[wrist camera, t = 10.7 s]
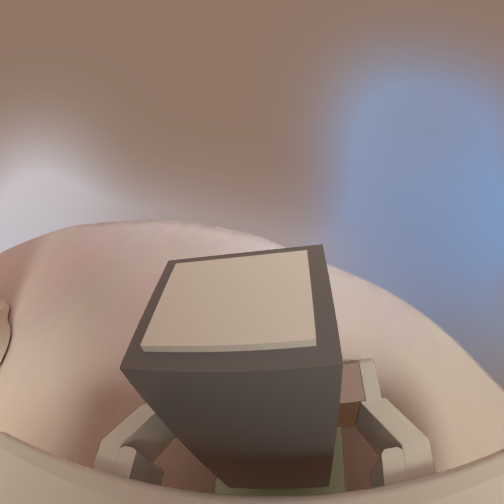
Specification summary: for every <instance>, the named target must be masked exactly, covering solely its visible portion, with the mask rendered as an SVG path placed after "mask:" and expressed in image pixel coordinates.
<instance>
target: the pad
mask: <svg viewBox="0 0 504 504" xmlns="http://www.w3.org/2000/svg"><path fill="white" fill-rule="evenodd" d="M340 492H345V475H344V457H343V443H342V429H341V427H337V434H336V442H335V449H334V457H333V464H332V470H331V477H330V483H329V487H317V488H300V489H245V488H229V487H228V486H227V485H226V484H224V483H223V482H222V481H221V480H220V479H219V478H218V477H217V476H216V483H215V490H214V493H217V494H229V495H246V496H301V495H318V494H330V493H340Z"/></svg>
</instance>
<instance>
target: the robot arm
mask: <svg viewBox="0 0 504 504" xmlns="http://www.w3.org/2000/svg"><path fill="white" fill-rule="evenodd" d="M9 309H10V306H9V304H8V303H7V302H6V301H5V300H0V362H1V360H2V358H3V356H4V354H5V352H6V349H7V346H8V343H9V339H10V325H9V322H8V313H9ZM354 425H356V428H357V429H358V430H359V431H360V433H361V434H362V435H363V436H364V438H365V439H366V440H367V441H368V443H369V444H370V445H371V446H372V448H373V449H374V450H375V451H376V452H377V454H378V455H379V456H380V457H379V459H378V461H377V462H376V464H375V466H374V468H373V469H372V471H371V473H370V478H371V488H369V489H363V490H356V491H348V492H340V493H330V494H318V495H301V496H246V495H229V494H217V493H207V492H199V491H191V490H184V489H178V488H172V487H166V486H161V483H162V478H163V473H164V472H163V471H162V469H161V468H159V467H158V466H157V465H155V464H154V463H153V462H154V461H155V460H156V458H157V457H158V456H159V455H160V454H161V453H162V452H163V450H164V449H165V448H166V447H167V446H168V445H169V443H170V442H171V441H172V440H173V439H174V438H175V434H174V433H173V432H172V431H171V430H170V429H169V428H168V427H167V426H166V425H165V423H164V422H163V421H162V420H161V419H160V418H159V417H158V416H157V414H156V413H155V412H154V411H153V410H152V409H151V407H150V406H149V405H148V404H147V403H146V404H142V405H141V406H139V407H138V408H137V409H136V410H135V411H134V412H133V413H132V414H130V415H129V416H128V417H127V418H126V419H125V420H124V421H123V422H121V423H120V424H119V425H118V426H117V427H116V428H115V429H113V430H112V431H111V432H110V433H109V434H108V435H107V436H105V437H104V438H103V439H102V441H101V443H100V446H99V449H98V452H97V455H96V458H95V461H94V464H93V467H92V468H90V467H87V466H84V465H81V464H78V463H75V462H72V461H70V460H67V459H64V458H62V457H59V456H57V455H54V454H52V453H49V452H47V451H44V450H42V449H40V448H37V447H35V446H33V445H31V444H28V443H26V442H24V441H22V440H20V439H18V438H16V437H14V436H12V435H10V434H8V433H6V432H0V504H504V449H502V450H500V451H497V452H495V453H493V454H490V455H488V456H485V457H483V458H480V459H478V460H475V461H472V462H470V463H467V464H464V465H461V466H458V467H455V468H452V469H449V470H446V471H443V472H439V473H436V474H435V469H434V463H433V457H432V452H431V447H430V442H429V439H428V438H427V437H426V436H425V435H424V434H423V433H422V432H421V431H420V430H419V429H418V428H417V427H416V426H415V425H414V424H413V423H412V422H411V421H410V420H408V419H407V418H406V417H405V416H404V415H403V414H402V413H401V412H400V411H399V410H398V409H397V408H396V407H395V406H394V405H393V404H392V403H391V402H390V401H389V400H388V399H387V398H382V397H381V392H380V387H379V382H378V377H377V373H376V368H375V363H374V360H373V359H372V358H368V359H361V360H351V361H344V362H343V370H342V384H341V396H340V406H339V416H338V425H337V427H344V426H354Z"/></svg>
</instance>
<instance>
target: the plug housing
mask: <svg viewBox="0 0 504 504" xmlns="http://www.w3.org/2000/svg"><path fill="white" fill-rule="evenodd" d="M120 370H121V371H122V372H123V374H124V375H125V376H126V377H127V379H128V380H129V381H130V383H131V384H132V385H133V386H134V388H135V389H136V390H137V392H138V393H139V394H140V395H141V396H142V398H143V399H144V400H145V401H146V403H147V404H148V405H149V406H150V407H151V409H152V410H153V411H154V412H155V413H156V414H157V416H158V417H159V418H160V419H161V420H162V421H163V422H164V423H165V425H166V426H167V427H168V428H169V429H170V430H171V431H172V432H173V433H174V434H175V436H176V437H177V438H178V439H179V440H180V441H181V442H182V443H183V444H184V445H185V446H186V447H187V448H188V449H189V450H190V451H191V452H192V453H193V454H194V455H195V456H196V457H197V458H198V459H199V460H200V461H201V462H202V463H203V464H204V465H205V466H206V467H207V468H208V469H209V470H210V471H211V472H212V473H213V474H215V475H216V476H217V477H218V478H219V479H220V480H221V481H222V482H223V483H224V484H226V485H227V486H228V487H229V488H245V489H300V488H317V487H329V483H330V477H331V470H332V464H333V457H334V449H335V442H336V434H337V425H338V416H339V406H340V396H341V384H342V370H343V361H342V354H341V347H340V340H339V334H338V327H337V321H336V315H335V309H334V303H333V297H332V292H331V286H330V281H329V275H328V270H327V265H326V260H325V254H324V249H323V245H312V246H303V247H293V248H284V249H274V250H265V251H255V252H246V253H237V254H227V255H218V256H208V257H199V258H189V259H180V260H171V261H168V263H167V265H166V267H165V269H164V271H163V274H162V276H161V278H160V280H159V282H158V284H157V286H156V288H155V290H154V292H153V294H152V296H151V299H150V301H149V303H148V305H147V307H146V309H145V311H144V314H143V316H142V318H141V320H140V322H139V325H138V327H137V329H136V331H135V334H134V336H133V338H132V340H131V343H130V345H129V347H128V350H127V352H126V354H125V357H124V359H123V361H122V364H121V366H120Z"/></svg>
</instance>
